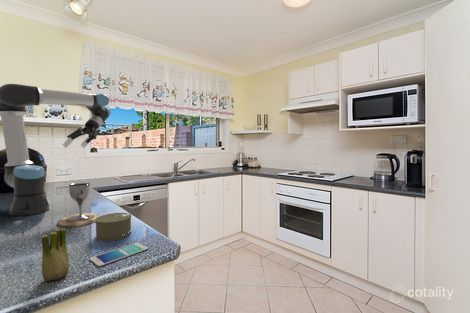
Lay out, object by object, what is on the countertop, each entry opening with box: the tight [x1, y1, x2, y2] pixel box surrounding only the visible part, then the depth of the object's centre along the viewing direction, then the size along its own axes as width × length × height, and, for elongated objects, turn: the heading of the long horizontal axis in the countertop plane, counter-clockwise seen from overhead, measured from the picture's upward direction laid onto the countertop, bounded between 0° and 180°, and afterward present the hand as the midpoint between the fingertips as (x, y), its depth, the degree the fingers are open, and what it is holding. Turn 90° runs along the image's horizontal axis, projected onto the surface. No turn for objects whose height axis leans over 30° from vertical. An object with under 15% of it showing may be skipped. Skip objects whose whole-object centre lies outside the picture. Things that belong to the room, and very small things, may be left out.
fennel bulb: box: [41, 228, 70, 282], centre depth 58 cm, size 6×5×12 cm
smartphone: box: [89, 242, 149, 268], centre depth 71 cm, size 8×1×15 cm
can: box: [94, 212, 132, 242], centre depth 87 cm, size 12×12×7 cm
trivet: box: [57, 212, 99, 228], centre depth 104 cm, size 16×16×1 cm
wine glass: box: [68, 182, 91, 220], centre depth 104 cm, size 8×8×15 cm
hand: (73, 146), depth 139 cm, fingers open, 13 cm apart
